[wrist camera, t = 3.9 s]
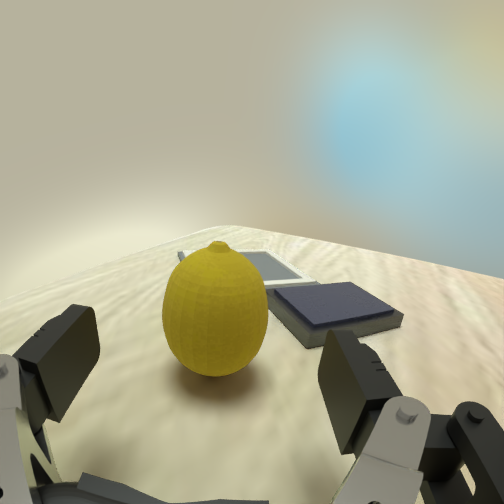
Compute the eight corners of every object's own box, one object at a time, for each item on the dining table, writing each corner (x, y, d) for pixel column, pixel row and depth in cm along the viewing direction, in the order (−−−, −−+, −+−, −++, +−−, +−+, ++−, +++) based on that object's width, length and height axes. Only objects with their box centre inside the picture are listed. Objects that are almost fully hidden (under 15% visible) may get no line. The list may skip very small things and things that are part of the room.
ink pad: (348, 292, 31) (350, 279, 31) (400, 326, 24) (404, 311, 24) (262, 301, 27) (263, 285, 27) (306, 348, 20) (310, 330, 20)
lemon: (278, 375, 17) (298, 247, 15) (210, 421, 13) (215, 268, 11) (214, 339, 21) (221, 225, 18) (147, 367, 16) (140, 236, 14)
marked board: (270, 252, 43) (271, 248, 43) (321, 288, 32) (322, 282, 31) (177, 254, 38) (177, 249, 38) (198, 298, 27) (198, 290, 27)
